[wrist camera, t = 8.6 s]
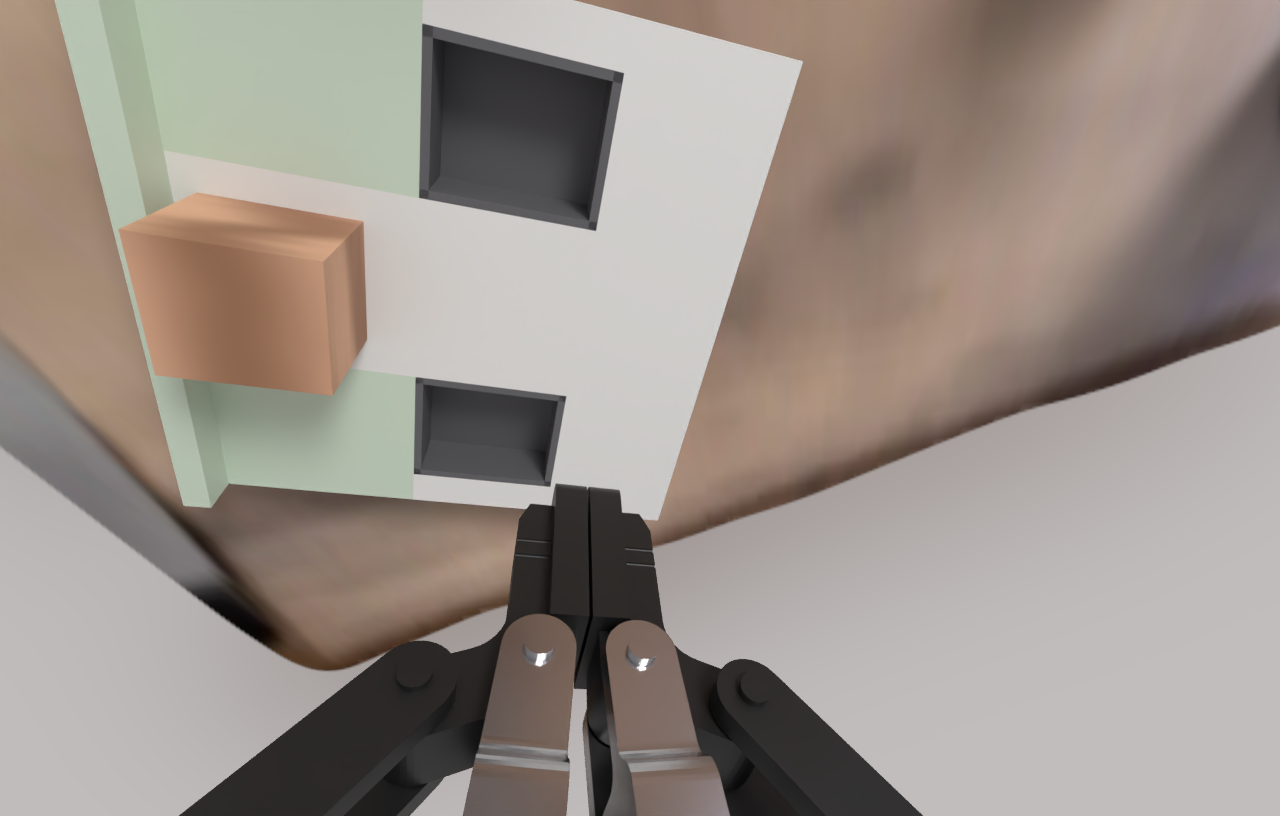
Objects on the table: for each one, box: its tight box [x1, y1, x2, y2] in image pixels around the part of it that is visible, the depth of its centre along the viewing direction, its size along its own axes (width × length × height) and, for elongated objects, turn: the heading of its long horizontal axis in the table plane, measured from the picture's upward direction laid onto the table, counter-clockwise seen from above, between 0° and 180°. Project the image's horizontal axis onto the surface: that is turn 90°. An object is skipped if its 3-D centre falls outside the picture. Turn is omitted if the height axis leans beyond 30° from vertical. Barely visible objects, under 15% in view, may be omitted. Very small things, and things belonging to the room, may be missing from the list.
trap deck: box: [55, 0, 803, 520], centre depth 22 cm, size 20×20×4 cm
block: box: [118, 192, 367, 396], centre depth 19 cm, size 5×4×4 cm
